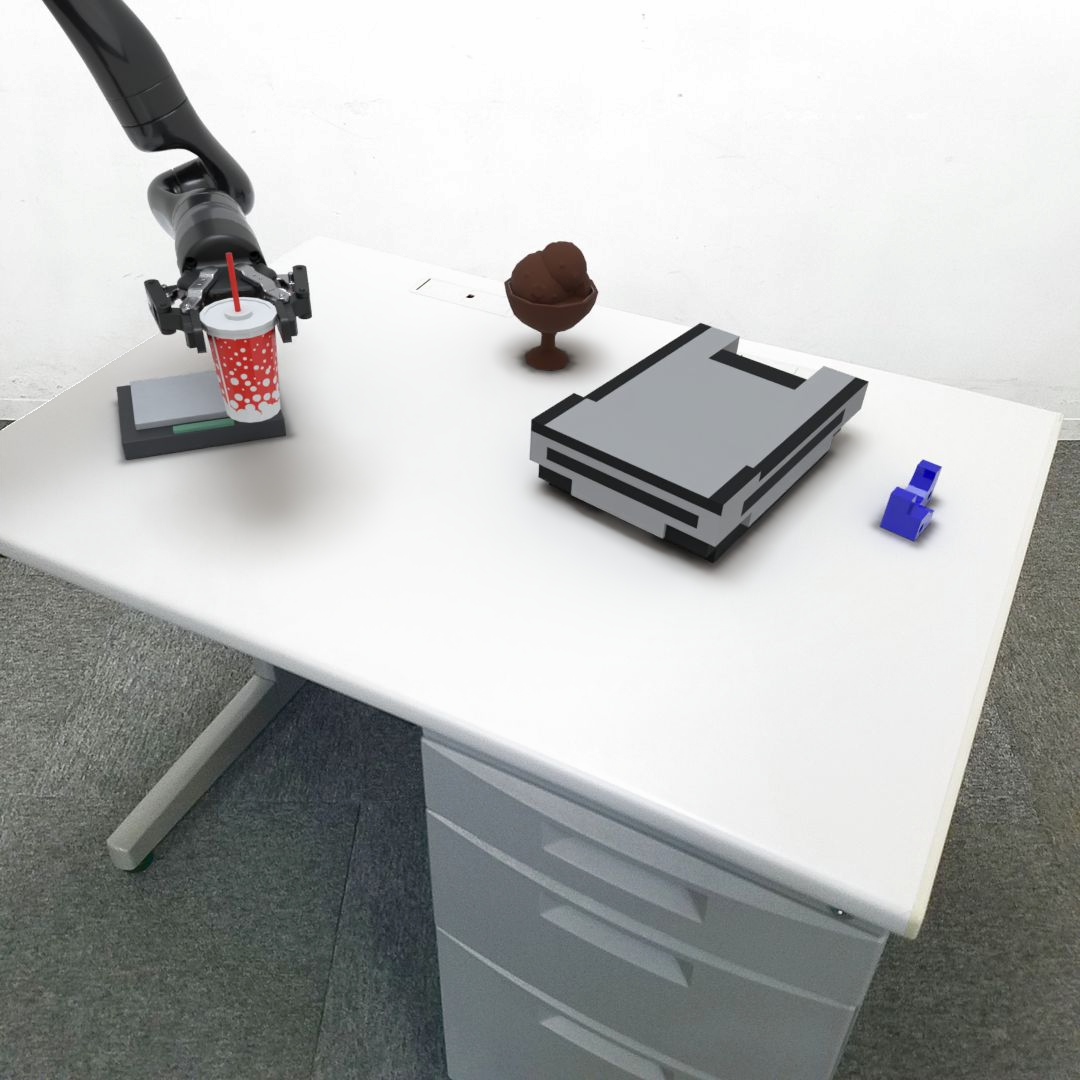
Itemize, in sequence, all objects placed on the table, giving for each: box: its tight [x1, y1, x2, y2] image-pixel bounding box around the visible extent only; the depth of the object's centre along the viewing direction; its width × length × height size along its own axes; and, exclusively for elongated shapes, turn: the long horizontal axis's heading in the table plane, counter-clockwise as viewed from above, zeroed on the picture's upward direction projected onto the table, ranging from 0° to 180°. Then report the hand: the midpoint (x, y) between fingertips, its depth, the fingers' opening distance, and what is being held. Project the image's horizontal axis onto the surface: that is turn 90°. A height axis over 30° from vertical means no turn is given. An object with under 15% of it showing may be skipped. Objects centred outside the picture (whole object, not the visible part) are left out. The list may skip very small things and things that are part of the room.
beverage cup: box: [199, 252, 282, 423], centre depth 79 cm, size 6×6×14 cm
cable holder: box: [879, 458, 943, 542], centre depth 94 cm, size 8×4×4 cm, turn 141°
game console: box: [529, 322, 870, 564], centre depth 99 cm, size 21×32×8 cm, turn 142°
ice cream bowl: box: [503, 240, 599, 372], centre depth 113 cm, size 11×11×15 cm
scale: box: [116, 370, 287, 460], centre depth 103 cm, size 16×12×3 cm
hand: (244, 337), depth 77 cm, fingers closed on beverage cup, 6 cm apart
